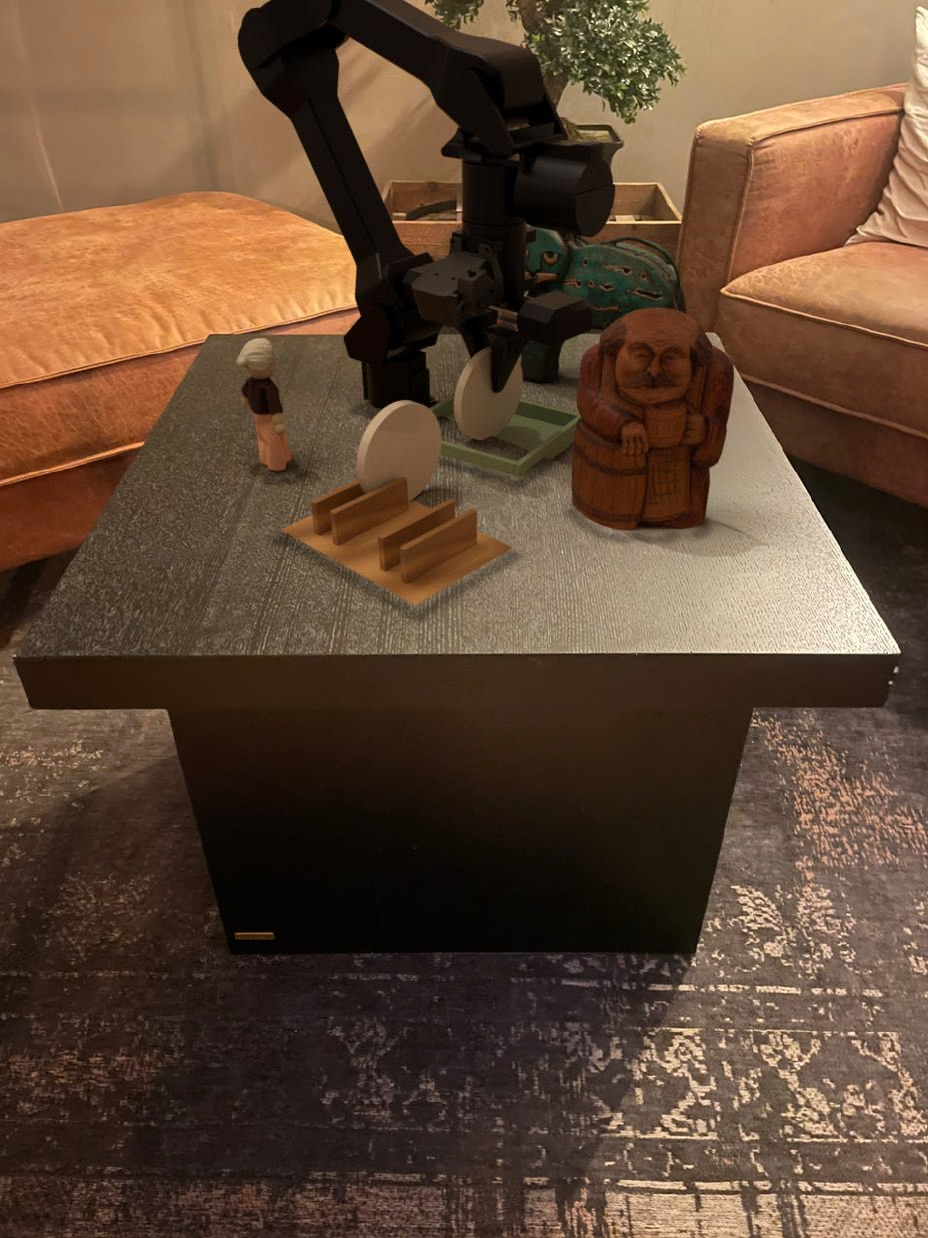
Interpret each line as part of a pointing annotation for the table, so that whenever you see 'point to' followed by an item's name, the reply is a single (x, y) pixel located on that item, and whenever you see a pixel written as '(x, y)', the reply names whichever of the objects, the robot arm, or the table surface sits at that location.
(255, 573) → the table surface
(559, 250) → the ceramic cat
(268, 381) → the grandmother figurine
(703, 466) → the wooden figurine
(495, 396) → the plate
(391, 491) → the plate rack
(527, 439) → the tray
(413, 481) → the plate
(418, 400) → the robot arm
